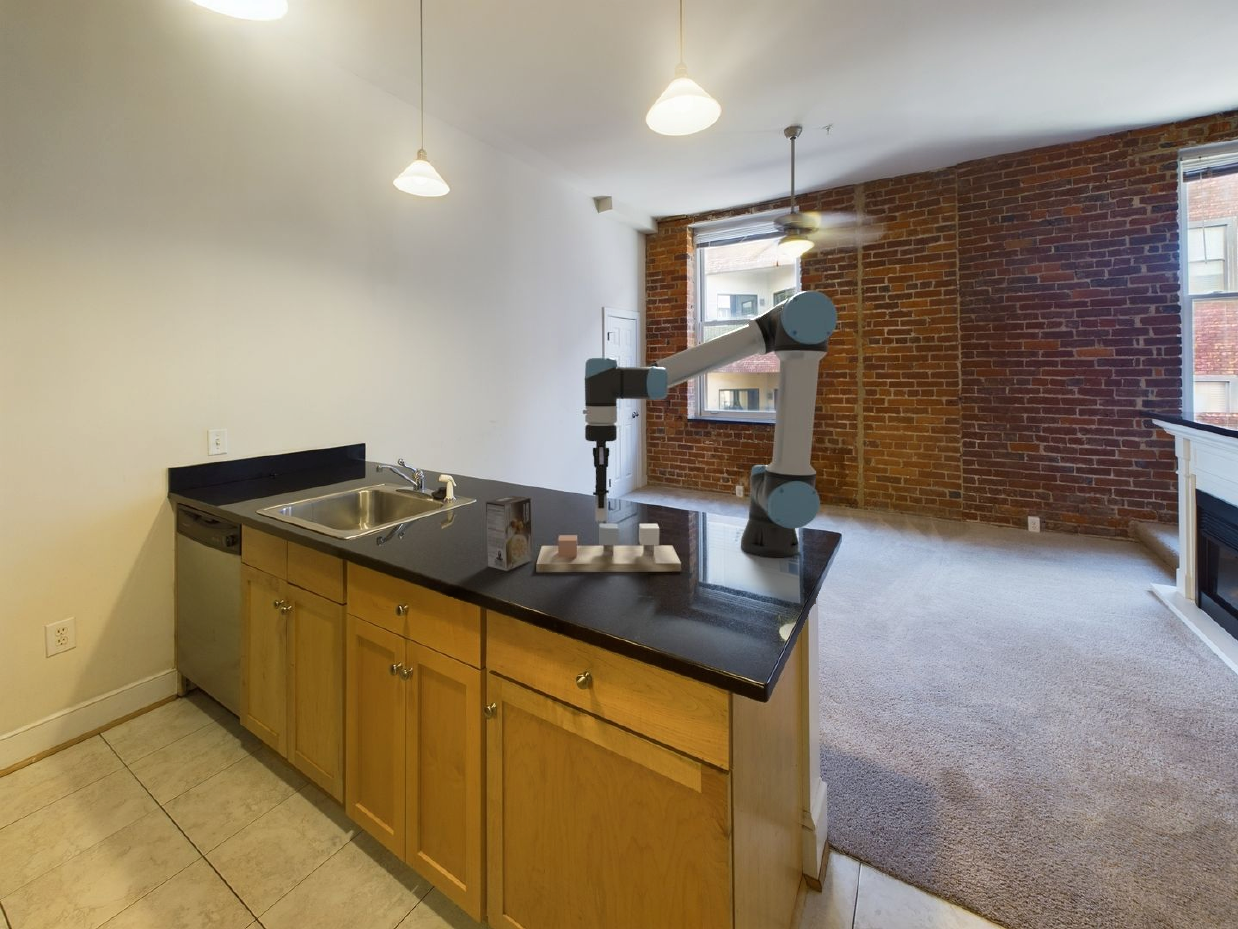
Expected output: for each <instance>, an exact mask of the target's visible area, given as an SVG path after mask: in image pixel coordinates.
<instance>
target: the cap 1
mask: <svg viewBox="0 0 1238 929" xmlns="http://www.w3.org/2000/svg"><path fill="white" fill-rule="evenodd" d="M557 540H558V541H557V546H558V557H577V546H578V535H577V534H576V535H575V534H574V535H572V534H569V535H567V534H565V535H564V534H562V535H561V534H560V535H558V539H557Z"/></svg>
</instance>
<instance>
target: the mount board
mask: <svg viewBox="0 0 1238 929" xmlns="http://www.w3.org/2000/svg"><path fill="white" fill-rule="evenodd" d="M535 566H536V573H588V572H589V573H592V572H593V573H597V572H598V573H599V572H600V573H607V572H608V573H611V572H613V573H615V572H617V573H619V572H621V573H622V572H623V573H624V572H626V573H628V572H630V573H631V572H634V573H635V572H637V573H639V572H640V573H641V572H645V573H646V572H650V573H651V572H660V573H661V572H682V562H681V560H680V558H679V556H678V555H677V552H676V550H675V548H674V546H673V545H577V557H558V545H541V547H540V551H539V555H538V557H537V561H536V565H535Z"/></svg>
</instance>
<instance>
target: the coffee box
mask: <svg viewBox="0 0 1238 929" xmlns="http://www.w3.org/2000/svg"><path fill="white" fill-rule="evenodd" d="M531 504H532V503H531V498H530V497H524V496H518V495H508V496H504V497H501V498H500V497H499V498H496V499H493V500H488V501H485V508H486V509H485V510H486V511H485V512H486V536H487V537H486V538H487V542H486V544H487V566H488V567H489V568H493V569H497V570H500V571H501V570H502V571H505V572H507V571H510V570H513V569H515V568H518V567H520V566H522V565H524V564H525V565H526V564H527V563H529V562H531V561H533V552H532V550H533V549H532V548H533V545H532V507H531V506H532V505H531Z"/></svg>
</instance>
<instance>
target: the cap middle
mask: <svg viewBox="0 0 1238 929" xmlns="http://www.w3.org/2000/svg"><path fill="white" fill-rule="evenodd" d="M598 525H599V526H598V527H599V529H598V530H599V531H598V532H599V534H598V536H599V538H598V540H599V541H598V543H599V545H598V546H604V545H614V546H619V525H618V523H599V524H598Z"/></svg>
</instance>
